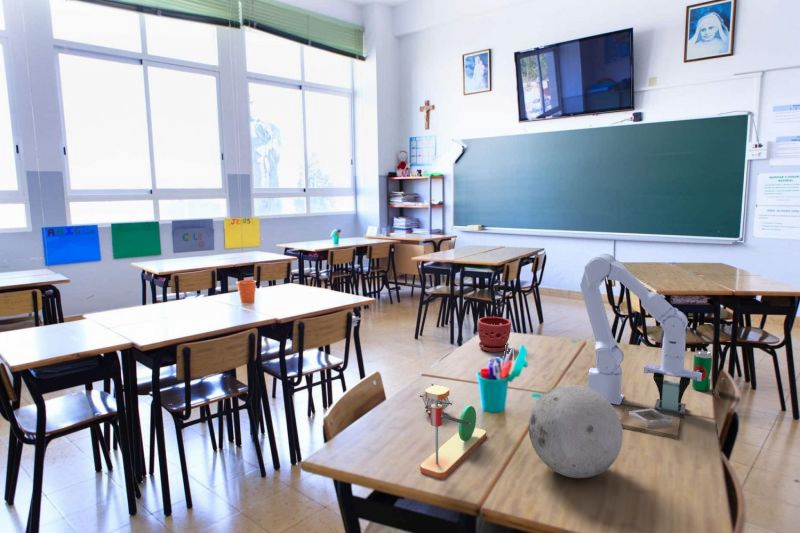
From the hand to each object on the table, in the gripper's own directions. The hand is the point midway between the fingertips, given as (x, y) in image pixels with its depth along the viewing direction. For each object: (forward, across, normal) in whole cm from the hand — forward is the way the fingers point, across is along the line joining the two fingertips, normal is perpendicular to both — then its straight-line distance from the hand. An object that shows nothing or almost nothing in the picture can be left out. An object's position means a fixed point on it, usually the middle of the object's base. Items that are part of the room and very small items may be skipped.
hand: (670, 400), depth 150 cm
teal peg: (+3, 0, 0) cm, 3 cm away
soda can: (+3, +7, +23) cm, 24 cm away
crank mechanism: (+4, -43, -52) cm, 68 cm away
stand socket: (+3, 0, 0) cm, 3 cm away
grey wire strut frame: (+3, -58, -34) cm, 67 cm away
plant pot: (+3, -66, +32) cm, 73 cm away
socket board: (+3, -4, -12) cm, 13 cm away
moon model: (+3, -16, -47) cm, 50 cm away
